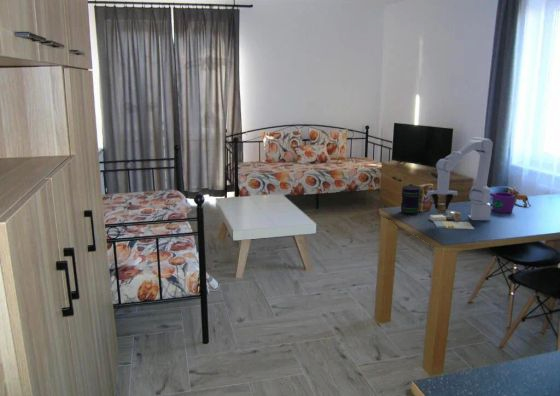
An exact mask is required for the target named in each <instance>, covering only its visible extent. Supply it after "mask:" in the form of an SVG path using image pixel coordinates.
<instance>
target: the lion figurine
mask: <svg viewBox="0 0 560 396" xmlns="http://www.w3.org/2000/svg"><path fill="white" fill-rule="evenodd" d="M507 190H508V191H507V192H506V193H511V194H514V195H515V202H514V205H515V204H517V200H518V201H522V202H523V206H524V207H525V208H526V207H532V205H531V204H530V203H529V197H528V195H527V194H521V193H519V191H517V190H516V189H515V188H512V187H511V188H508V189H507Z"/></svg>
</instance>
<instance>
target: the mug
mask: <svg viewBox="0 0 560 396" xmlns="http://www.w3.org/2000/svg"><path fill="white" fill-rule="evenodd" d="M490 195H491V197H492V203H490V205H491V209H492V210H493V211H494V212H495V213H499V214H510V213H512V212H513V210H514V206H515V204H514V202H515V195H514V194H511V193H507V192H501V191H500V192H498V191H497V192H494V193H491V192H490Z"/></svg>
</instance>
